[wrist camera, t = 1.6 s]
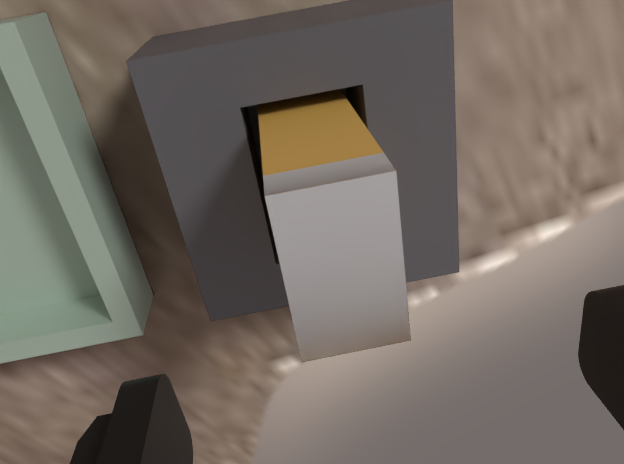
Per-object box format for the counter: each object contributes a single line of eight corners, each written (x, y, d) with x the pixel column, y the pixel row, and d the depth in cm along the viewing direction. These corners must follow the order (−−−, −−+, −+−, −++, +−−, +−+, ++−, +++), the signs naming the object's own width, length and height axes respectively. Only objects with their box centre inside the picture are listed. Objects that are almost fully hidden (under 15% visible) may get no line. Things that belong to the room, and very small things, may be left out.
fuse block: (216, 255, 25) (210, 321, 20) (152, 37, 20) (126, 60, 16) (421, 215, 25) (459, 271, 21) (407, -11, 20) (452, 0, 16)
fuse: (280, 204, 23) (301, 362, 14) (256, 91, 20) (264, 196, 12) (347, 191, 23) (410, 340, 14) (331, 76, 20) (395, 170, 12)
